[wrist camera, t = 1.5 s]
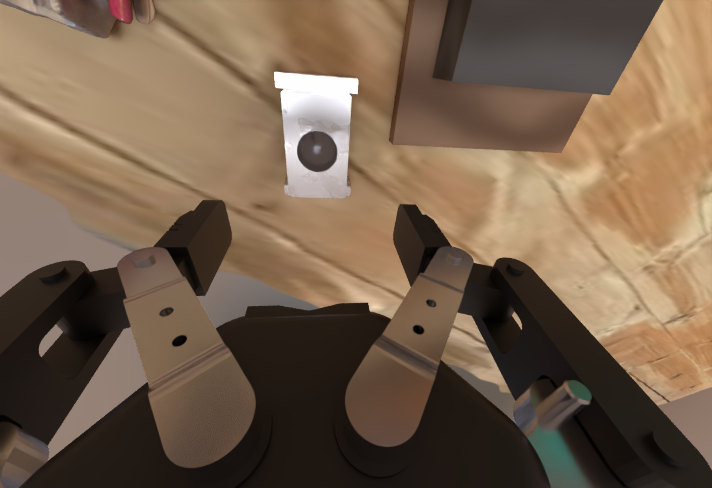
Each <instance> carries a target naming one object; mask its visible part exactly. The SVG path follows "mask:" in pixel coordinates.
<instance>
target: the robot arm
mask: <svg viewBox="0 0 712 488" xmlns="http://www.w3.org/2000/svg"><path fill="white" fill-rule="evenodd" d="M231 240H232V232H231V227H230V223H229V219H228V215H227V211H226V207H225V204H224V202H223V201H222V200H203V201H202V202H201V203H200V204H199V205H198V206H197V208H196V209H195V210H194V211H189V212H188V213H186V214H184V215H182V216H180V217H179V218H178V220H177V221H176V222H175V223H174V225H172V226H171V227H170V229H169V231H167V232H166V233H165V234H164V235H163V236H162V238H161V239H160V240H159V241H158V242H157V243H156V244H155V245H154V247H149V248H143V249H140V250H137V251H134V252H132V253H130V254H128V255H126V256H125V257H123V258H122V259H121V260H120V261H119V263H118V265H117V267H115V268H109V269H104V270H98V271H93V272H90V271H89V270H88V268H87V267H86V265H85V264H84V263H83V262H80V261H62V262H57V263H54V264H50V265H47V266H45V267H42V268H40V269H38V270H36V271H34V272H32V273H30V274H29V275H27V276H26V277H25V278H24V279H22V280H21V281H20V282H19V283H17V284H16V285H15V286H14V287H12V288H11V289H10V290H9V291H7V292H6V293H5V294H4V295H2V296H1V297H0V488H712V470H711V468H710V466H709V465H708V463H707V462H706V460H705V459H704V457H703V456H702V455H701V454H700V452H699V451H698V450H697V449H696V448H695V447H694V446H693V445H692V444H691V442H690V441H689V440H688V439H687V438H686V437H685V436H684V435H683V434H682V432H681V431H680V430H679V429H678V428H677V427H676V426H675V425H674V424H673V423H672V422H671V420H670V419H669V418H668V417H667V416H666V415H665V414H664V413H663V412H662V411H661V410H660V409H659V407H658V406H657V405H656V404H655V403H654V402H653V401H652V400H651V399H650V397H649V396H648V395H647V394H646V393H645V392H644V391H643V390H642V389H641V388H640V387H639V385H638V384H637V383H636V382H635V381H634V380H633V379H632V378H631V377H630V376H629V374H628V373H627V372H626V371H625V370H624V369H623V368H622V367H621V366H620V365H619V364H618V362H617V361H616V360H615V359H614V358H613V357H612V356H611V355H610V354H609V353H608V351H607V350H606V349H605V348H604V347H603V346H602V345H601V344H600V343H599V342H598V341H597V339H596V338H595V337H594V336H593V335H592V334H591V333H590V332H589V331H588V330H587V328H586V327H585V326H584V325H583V324H582V323H581V322H580V321H579V320H578V319H577V318H576V316H575V315H574V314H573V313H572V312H571V311H570V310H569V309H568V308H567V307H566V306H565V304H564V303H563V302H562V301H561V300H560V299H559V298H558V297H557V296H556V295H555V293H554V292H553V291H552V290H551V289H550V288H549V287H548V286H547V285H546V284H545V283H544V281H543V280H542V279H541V278H540V277H539V276H538V275H537V274H536V273H535V272H534V270H533V269H532V268H531V267H529V266H528V265H526V264H525V263H523V262H521V261H519V260H516V259H512V258H499V259H497V260H496V262H495V264H494V266H493V267H491V266H486V265H481V264H477V263H473V258H472V257H471V256H470V255H469V254H468V253H467V252H465V251H463V250H461V249H459V248H456V247H452V246H451V245H450V243H449V242H448V240H447V239H446V237H445V236H444V235H443V233H441V230H440V229H439V228H438V226H437V224H436V223H435V221H434V220H433V219H431V218H430V217H428V216H427V215H422V213H421V212H420V210H419V209H418V207H417V206H416V205H411V204H400V205H399V207H398V211H397V217H396V222H395V227H394V233H393V241H394V245H395V247H396V250H397V253H398V255H399V258H400V260H401V263H402V265H403V268H404V271H405V273H406V276H407V278H408V281H409V283H410V286H411V288H410V290H409V292H408V293H407V295H406V297H405V298H404V300H403V301H402V303H401V305H400V306H399V308H398V310H397V311H396V313H395V314H394V316H393V318H392V319H390V318H388V317H386V316H383V315H381V314H378V313H374V312H370V311H369V305H368V303H342V304H336V305H332V306H328V307H323V308H319V309H315V310H310V311H308V310H301V309H296V308H290V307H284V306H249V307H248V308H247V311H246V314H245V316H243V317H240V318H237V319H234V320H231V321H229V322H227V323H225V324H223V325H221V326H219V327H218V328H216V329H215V327H214V325H213V323H212V322H211V320H210V319H209V317H208V315H207V313H206V312H205V310H204V308H203V306H202V305H201V303H200V301H199V300H198V298H197V296H205V295H206V293H207V291H208V289H209V287H210V285H211V283H212V281H213V279H214V277H215V274H216V273H217V271H218V268H219V266H220V264H221V262H222V260H223V258H224V256H225V254H226V252H227V250H228V248H229V246H230V244H231ZM514 311H515V313H516V314H517V315H518V317H519V318H520V320H521V323H522V330H521V329H520V327H519V326H518V324H517V323H516V321H515V320H514V318H513V317H512V314H513V313H514ZM457 312H458V313H462V314H467V315H471V316H472V317H473V319H474V321H475V323H476V325H477V327H478V329H479V331H480V333H481V335H482V337H483V339H484V341H485V343H486V345H487V346H488V348H489V350H490V352H491V354H492V356H493V358H494V360H495V362H496V364H497V366H498V368H499V370H500V372H501V374H502V376H503V378H504V380H505V382H506V384H507V386H508V388H509V390H510V391H511V393H512V395H513V397H514V399H515V403H514V405H513V416H514V420H515V422H516V424H515V423H514V422H513V421H512V420H511V419H510V418H509V417H508V416H507V415H505V414H504V413H503V412H502V411H501V410H500V409H498V408H497V407H496V406H495V405H494V404H492V403H491V402H490V401H489V400H488V399H487V398H485V397H484V396H483V395H482V394H481V393H480V392H478V391H477V390H476V389H475V388H474V387H472V386H471V385H470V384H469V383H468V382H467V381H465V380H464V379H463V378H462V377H461V376H460V375H458V374H457V373H456V372H455V371H454V370H452V369H451V368H450V367H448V365H447V364H445V363H444V362H443V361H442V360H441V357H442V354H443V351H444V348H445V346H446V343H447V340H448V337H449V334H450V331H451V329H452V326H453V323H454V320H455V317H456V314H457ZM55 324H56V325H57V326H58V327H59V328H60V329H61V330H62V331H63V333H62V334H61V336H60V337H59V338H58V339H57V340H56V341H55V342H54V344H53V345H52V346H51V347H50V348H49V349H48V351H47V352H46V353H45V354H44V355H43V356H42V357H40V355H39V345H40V342H41V340H42V339H43V338H44V336H45V335H46V334H47V333H48V332H49V331H50V330H51V329H52V328H53V326H54V325H55ZM129 327H131V329H132V332H133V335H134V339H135V342H136V345H137V348H138V352H139V355H140V358H141V362H142V365H143V368H144V371H145V375H146V378H147V381H148V382H147V383H146V384H144V385H143V386H142V387H141V388H139V389H138V390H137V391H135V392H134V393H133V394H132V395H130V396H129V397H128V398H127V399H125V400H124V401H123V402H122V403H120V404H119V405H118V406H117V407H115V408H114V409H113V410H112V411H110V412H109V413H108V414H106V415H105V416H104V417H103V418H102V419H100V420H99V421H98V422H96V423H95V424H94V425H93V426H91V427H90V428H89V429H88V430H86V431H85V432H84V433H83V434H81V435H80V436H79V437H78V438H76V439H75V440H74V441H72V442H71V443H70V444H69V445H67V446H66V447H65V448H64V449H62V450H61V451H60V452H59V453H58V454H56V455H55V456H54V457H52V458H51V459H50V460H49V461H48V458H49V448H48V444H49V442H50V441H51V439H52V438H53V436H54V435H55V433H56V432H57V430H58V429H59V427H60V426H61V424H62V423H63V421H64V419H65V418H66V416H67V415H68V413H69V412H70V410H71V409H72V407H73V406H74V404H75V403H76V401H77V400H78V398H79V396H80V395H81V393H82V392H83V390H84V389H85V387H86V386H87V384H88V383H89V381H90V380H91V378H92V377H93V375H94V373H95V372H96V370H97V369H98V367H99V366H100V364H101V362H102V361H103V360H104V358H105V357H106V355H107V353H108V352H109V350H110V349H111V347H112V346H113V344H114V343H115V341H116V340H117V338H118V337H119V335H120V334H121V332H122V331H123V329H125V328H129Z"/></svg>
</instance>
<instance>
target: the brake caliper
mask: <svg viewBox="0 0 712 488" xmlns="http://www.w3.org/2000/svg"><path fill="white" fill-rule="evenodd" d="M0 3H2V4H4V5H7V6H10V7H14V8H16V9H19V10H22V11H24V12H27V13H29V14H32V15H36V16H42V17H47V18H50V19H53V20H55V21H57V22H60V23H63V24H65V25H67V26H69V27H71V28H73V29H76V30H79V31H82V32H85V33H88V34H90V35H93V36H96V37H100V38H108V37H109V34H110V31H111V29H112V27H113V25H114V23H115V21H116V20H117V19H118V20H119V21H121V22H123V23H126V24H130V23H131V22H132V20H133V14H132V7H131V0H0ZM133 3H134V7H135V13H136V17H137V20H138V21H139V22H140V23H144V24H148V23H149V22H150V21H152V20H153V19H154V17H155V15H156V9H155V7H154V4H153V1H152V0H133Z"/></svg>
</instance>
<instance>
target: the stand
mask: <svg viewBox="0 0 712 488" xmlns="http://www.w3.org/2000/svg"><path fill="white" fill-rule="evenodd" d="M662 2H663V0H410V1H409V8H408V15H407V22H406V29H405V36H404V43H403V50H402V56H401V63H400V70H399V77H398V84H397V91H396V98H395V105H394V112H393V118H392V125H391V132H390V139H389V140H390V142H391V143H392V144H394V145H414V146H434V147H453V148H473V149H493V150H513V151H533V152H553V153H562V151H563V149H564V147H565V145H566V143H567V141H568V139H569V137H570V136H571V134H572V132H573V130H574V128H575V126H576V124H577V122H578V121H579V119H580V117H581V115H582V113H583V111H584V109H585V107H586V105H587V104H588V102H589V100H590V98H591V96H592V94H601V95H610V93H611V92H612V90H613V88H614V86H615V85H616V83H617V81H618V79H619V78H620V76H621V74H622V72H623V71H624V69H625V67H626V65H627V63H628V62H629V60H630V58H631V56H632V55H633V53H634V51H635V49H636V48H637V46H638V44H639V42H640V40H641V39H642V37H643V35H644V33H645V32H646V30H647V28H648V26H649V25H650V23H651V21H652V19H653V17H654V16H655V14H656V12H657V10H658V9H659V7H660V5H661V3H662Z"/></svg>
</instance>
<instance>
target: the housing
mask: <svg viewBox="0 0 712 488" xmlns="http://www.w3.org/2000/svg"><path fill="white" fill-rule="evenodd" d="M274 76H275V87H276V88H285V89H284V90H282V91H281V102H282V115H283V127H284V139H285V152H286V164H287V177H286V181H285V184H284V186H285V194H288V195H289V197H316V198H346V196H350V191H351V185H350V181H349V178H347V169H348V152H349V135H350V118H351V100H352V97H351V96H350V94H349V93H353V94H357V89H358V79H357V78H355V77H347V76H335V75H323V74H311V73H299V72H287V71H276V72H274Z"/></svg>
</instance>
